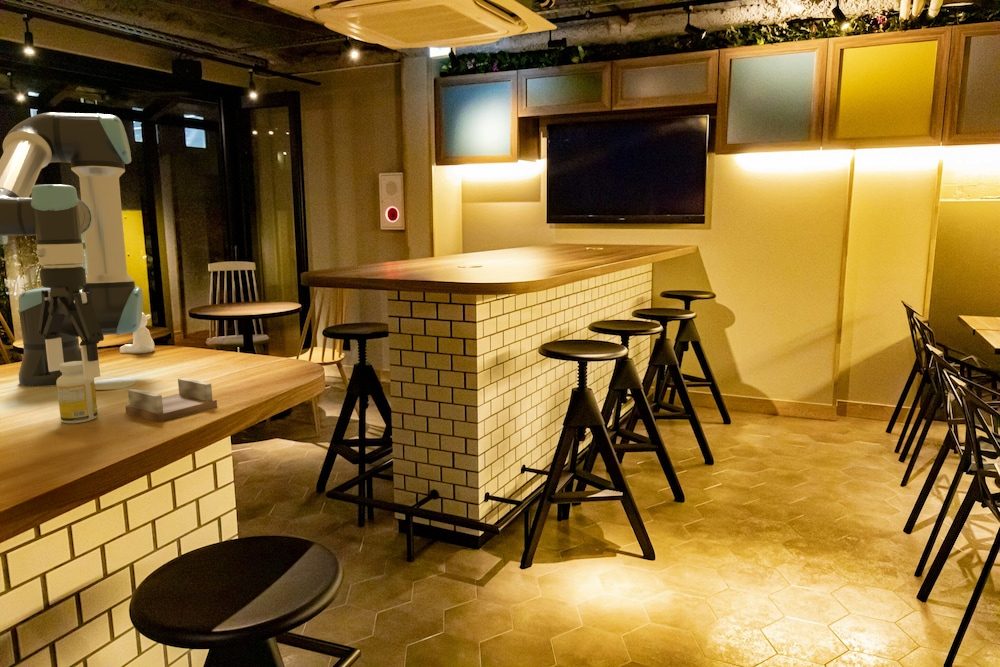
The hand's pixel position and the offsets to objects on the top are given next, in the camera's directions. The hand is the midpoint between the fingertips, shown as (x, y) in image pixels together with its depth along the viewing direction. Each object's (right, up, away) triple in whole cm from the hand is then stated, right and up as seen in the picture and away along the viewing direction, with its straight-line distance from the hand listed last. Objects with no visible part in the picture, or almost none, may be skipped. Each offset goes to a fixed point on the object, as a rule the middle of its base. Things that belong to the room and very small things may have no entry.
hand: (74, 374), depth 141 cm
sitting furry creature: (-22, +2, +71) cm, 75 cm away
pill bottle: (0, -10, +2) cm, 10 cm away
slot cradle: (+16, -8, +8) cm, 19 cm away
